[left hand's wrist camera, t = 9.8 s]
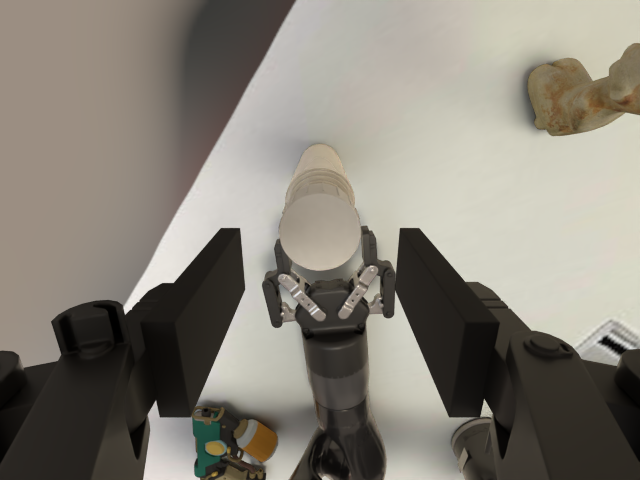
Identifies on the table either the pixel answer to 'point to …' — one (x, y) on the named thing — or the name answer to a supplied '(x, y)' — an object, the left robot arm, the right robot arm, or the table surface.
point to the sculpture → (584, 94)
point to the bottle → (320, 171)
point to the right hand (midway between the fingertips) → (323, 231)
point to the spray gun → (229, 445)
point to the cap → (320, 227)
